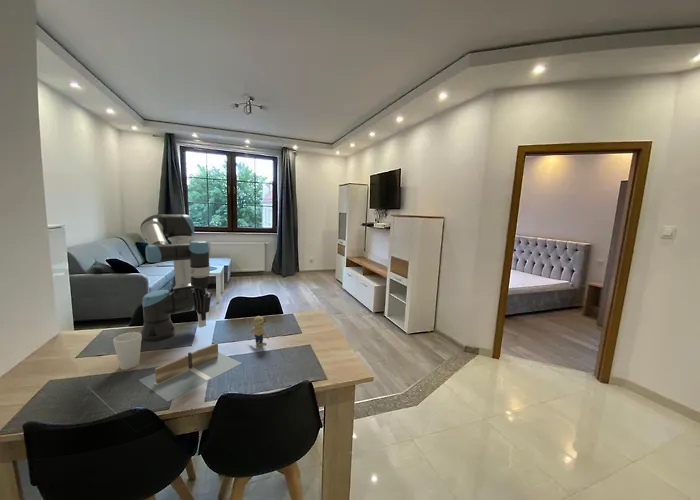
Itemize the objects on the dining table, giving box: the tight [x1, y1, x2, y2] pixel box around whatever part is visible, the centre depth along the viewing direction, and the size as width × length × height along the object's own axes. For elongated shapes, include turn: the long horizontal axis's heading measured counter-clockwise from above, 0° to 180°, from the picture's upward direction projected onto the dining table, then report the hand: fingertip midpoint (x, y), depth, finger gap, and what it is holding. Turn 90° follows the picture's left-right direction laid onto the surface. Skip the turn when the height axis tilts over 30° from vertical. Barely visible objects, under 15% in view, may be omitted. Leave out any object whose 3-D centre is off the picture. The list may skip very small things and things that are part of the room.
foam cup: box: [112, 331, 143, 371], centre depth 122 cm, size 10×9×13 cm
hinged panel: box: [187, 342, 219, 368], centre depth 127 cm, size 1×13×7 cm, turn 148°
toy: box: [248, 315, 270, 346], centre depth 145 cm, size 13×6×15 cm, turn 65°
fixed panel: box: [154, 355, 189, 384], centre depth 116 cm, size 1×12×6 cm, turn 148°
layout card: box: [138, 351, 242, 402], centre depth 120 cm, size 22×31×1 cm
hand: (202, 326), depth 131 cm, fingers closed
